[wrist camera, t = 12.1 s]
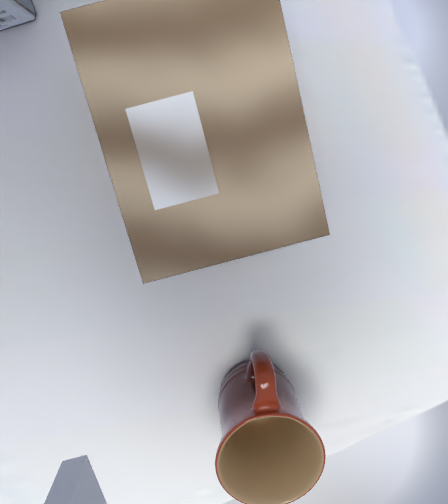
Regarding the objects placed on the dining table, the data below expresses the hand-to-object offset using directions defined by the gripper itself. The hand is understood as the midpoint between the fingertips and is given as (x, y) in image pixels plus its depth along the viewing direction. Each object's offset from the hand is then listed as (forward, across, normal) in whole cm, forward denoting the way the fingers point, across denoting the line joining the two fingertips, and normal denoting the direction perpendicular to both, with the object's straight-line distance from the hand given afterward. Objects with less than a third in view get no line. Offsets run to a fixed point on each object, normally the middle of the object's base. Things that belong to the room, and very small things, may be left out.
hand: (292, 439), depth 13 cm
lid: (+16, 0, +10) cm, 18 cm away
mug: (+27, -1, -14) cm, 30 cm away
